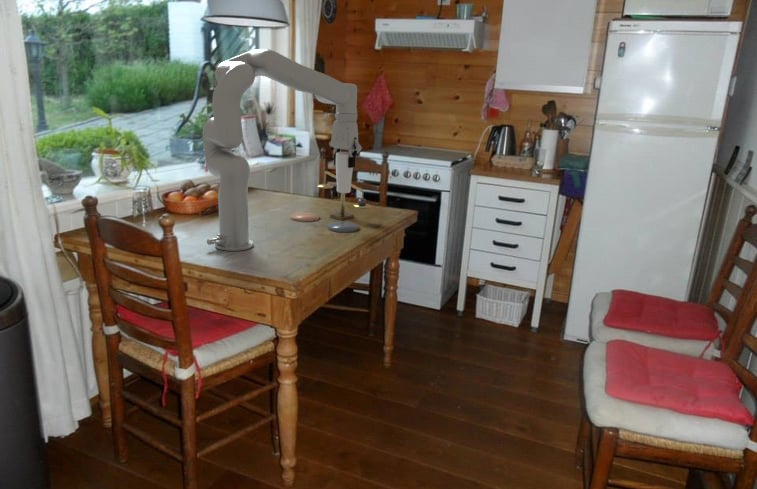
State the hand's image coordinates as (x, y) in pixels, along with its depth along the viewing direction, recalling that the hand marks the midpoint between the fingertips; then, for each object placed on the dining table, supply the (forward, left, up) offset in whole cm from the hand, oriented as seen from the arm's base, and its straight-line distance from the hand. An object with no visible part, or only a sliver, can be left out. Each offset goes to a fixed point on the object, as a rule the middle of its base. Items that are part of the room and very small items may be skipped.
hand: (344, 165), depth 210 cm
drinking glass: (0, 0, -10) cm, 10 cm away
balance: (+12, +12, -25) cm, 30 cm away
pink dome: (-1, +21, -25) cm, 32 cm away
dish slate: (0, 0, -25) cm, 25 cm away
